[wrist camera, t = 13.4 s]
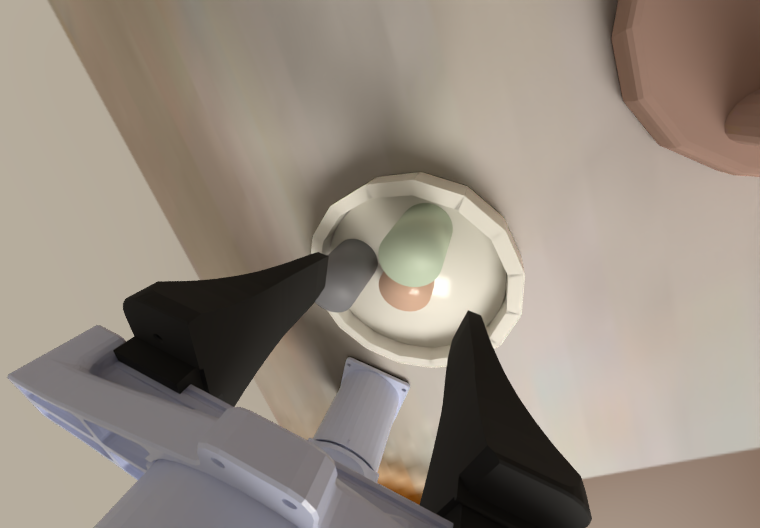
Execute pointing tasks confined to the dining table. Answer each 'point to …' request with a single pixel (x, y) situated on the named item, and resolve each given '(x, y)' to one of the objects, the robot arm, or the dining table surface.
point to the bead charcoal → (347, 274)
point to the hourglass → (694, 77)
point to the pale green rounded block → (416, 245)
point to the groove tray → (449, 290)
